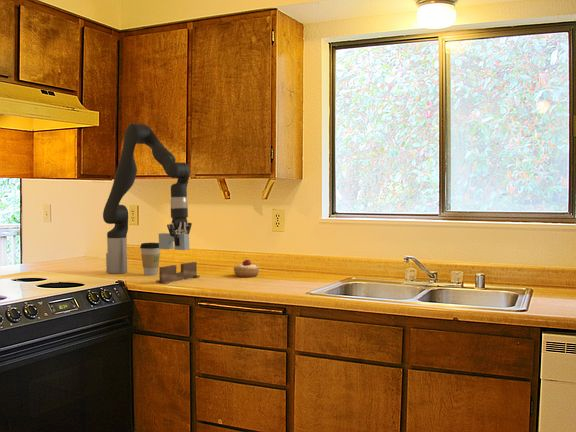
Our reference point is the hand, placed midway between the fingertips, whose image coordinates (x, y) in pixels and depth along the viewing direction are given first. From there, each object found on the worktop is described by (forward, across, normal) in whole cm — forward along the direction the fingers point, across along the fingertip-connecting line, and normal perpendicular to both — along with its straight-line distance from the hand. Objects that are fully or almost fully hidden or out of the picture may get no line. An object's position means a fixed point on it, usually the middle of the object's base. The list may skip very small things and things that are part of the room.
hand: (180, 245), depth 278 cm
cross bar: (+2, 0, -4) cm, 4 cm away
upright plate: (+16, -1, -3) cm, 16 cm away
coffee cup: (+16, -6, -26) cm, 31 cm away
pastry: (+17, -29, +15) cm, 36 cm away
